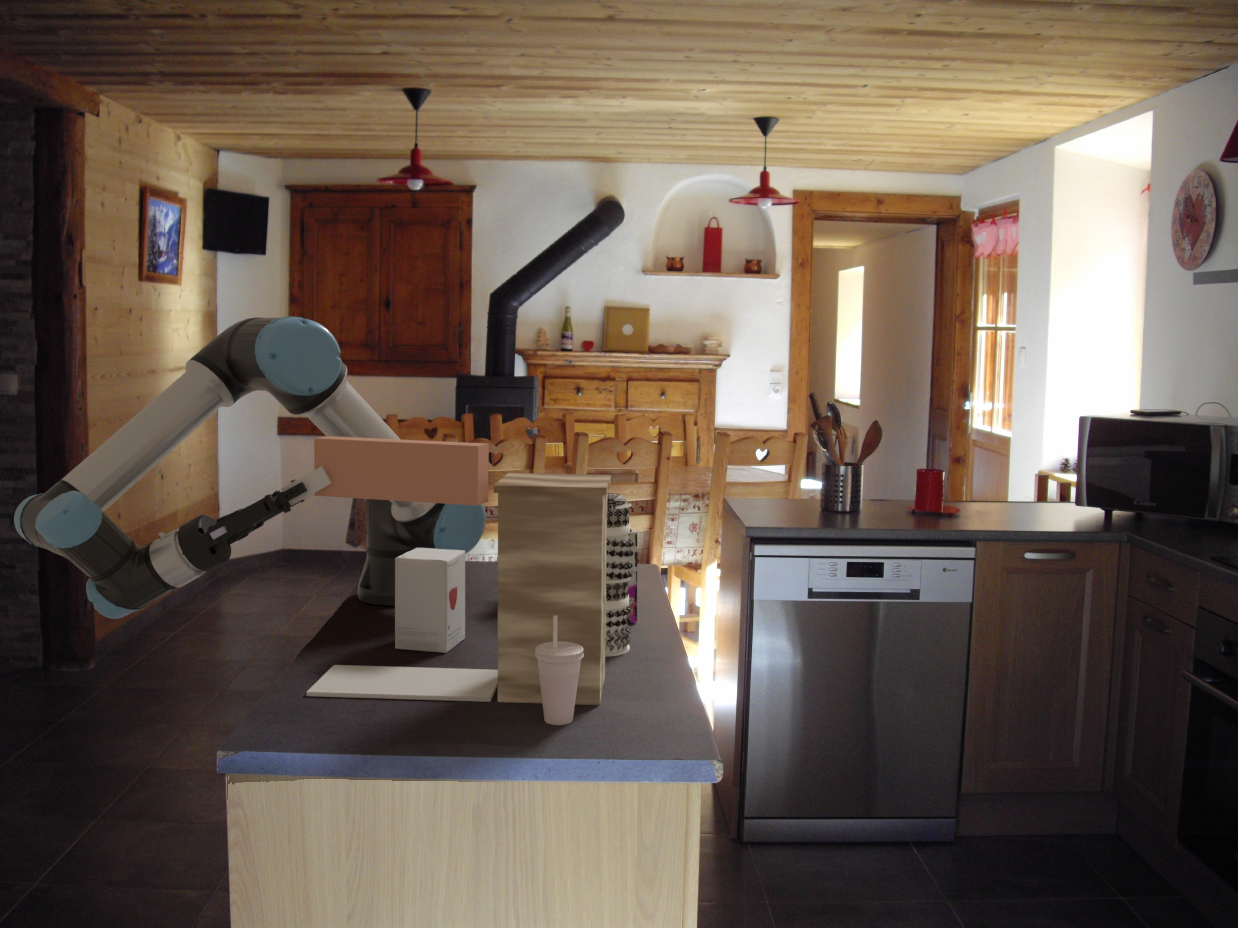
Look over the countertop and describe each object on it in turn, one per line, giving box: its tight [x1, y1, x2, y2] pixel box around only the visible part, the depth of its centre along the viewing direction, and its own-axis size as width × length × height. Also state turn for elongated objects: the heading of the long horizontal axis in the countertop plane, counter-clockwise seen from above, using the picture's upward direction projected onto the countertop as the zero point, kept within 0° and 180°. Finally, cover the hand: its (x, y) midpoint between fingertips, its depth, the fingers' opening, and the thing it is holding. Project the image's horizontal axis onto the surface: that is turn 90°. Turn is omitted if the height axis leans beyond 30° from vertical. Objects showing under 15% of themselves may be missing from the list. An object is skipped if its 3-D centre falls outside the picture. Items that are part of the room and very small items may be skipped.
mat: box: [306, 664, 498, 703], centre depth 150 cm, size 12×26×1 cm, turn 87°
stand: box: [493, 472, 612, 706], centre depth 147 cm, size 13×15×30 cm
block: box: [313, 435, 490, 506], centre depth 144 cm, size 4×24×8 cm, turn 77°
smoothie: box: [535, 615, 584, 726], centre depth 136 cm, size 6×6×14 cm
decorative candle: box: [605, 492, 634, 658], centre depth 167 cm, size 9×9×25 cm
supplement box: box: [394, 548, 466, 654], centre depth 169 cm, size 9×9×15 cm
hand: (332, 472), depth 147 cm, fingers closed on block, 4 cm apart
